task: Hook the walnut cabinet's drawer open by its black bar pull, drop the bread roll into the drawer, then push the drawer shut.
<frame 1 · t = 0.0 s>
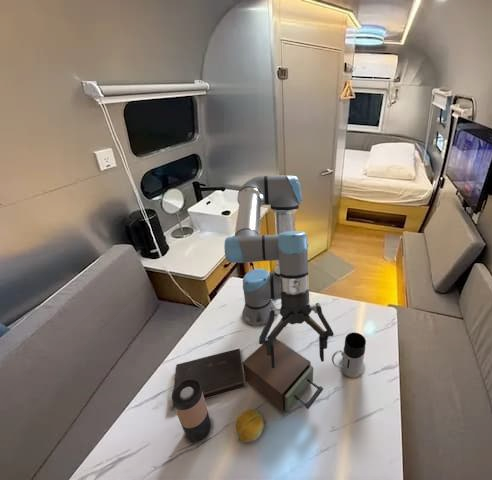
hand: (297, 361, 76), 28 cm above the table, tool tilted 20°, fingers open, 13 cm apart
cabinet: (277, 380, 101), on the table
bread roll: (249, 427, 87), on the table
hardcover book: (210, 378, 101), on the table
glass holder: (346, 370, 106), on the table
drawer: (288, 379, 96), point 5 cm above the table, slide at 0.5 cm
travel mug: (199, 430, 86), on the table
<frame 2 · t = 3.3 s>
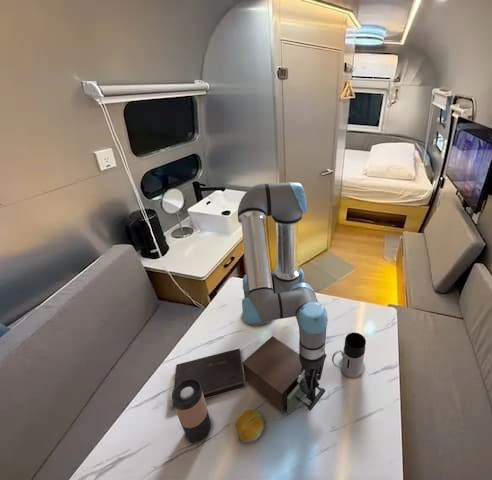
hand: (310, 398, 91), 5 cm above the table, tool pointing down, fingers closed
drawer: (290, 381, 95), point 5 cm above the table, slide at 1.4 cm
everything else where it was.
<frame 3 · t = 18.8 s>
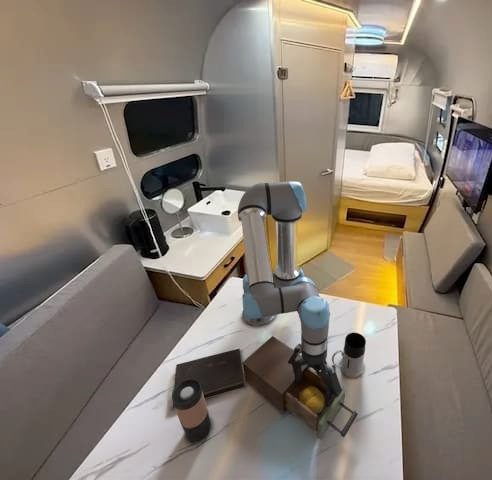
hand: (313, 390, 89), 9 cm above the table, tool pointing down, fingers open, 12 cm apart
bread roll: (311, 402, 92), point 2 cm above the table, touching drawer
drawer: (319, 403, 89), point 5 cm above the table, slide at 13.9 cm, touching bread roll
everything else where it was.
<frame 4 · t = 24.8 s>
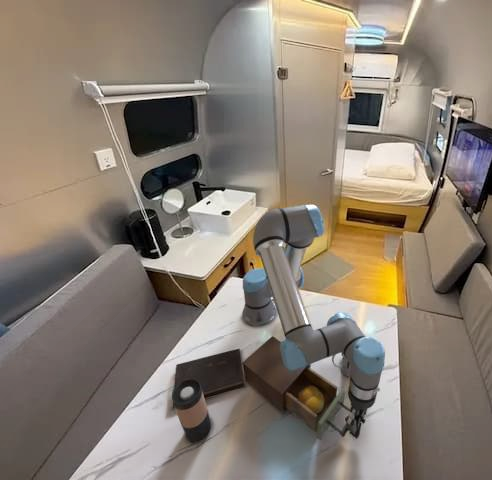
hand: (354, 434, 84), 3 cm above the table, tool pointing down, fingers closed
drawer: (319, 402, 89), point 5 cm above the table, slide at 13.7 cm, touching bread roll, gripper
everything else where it was.
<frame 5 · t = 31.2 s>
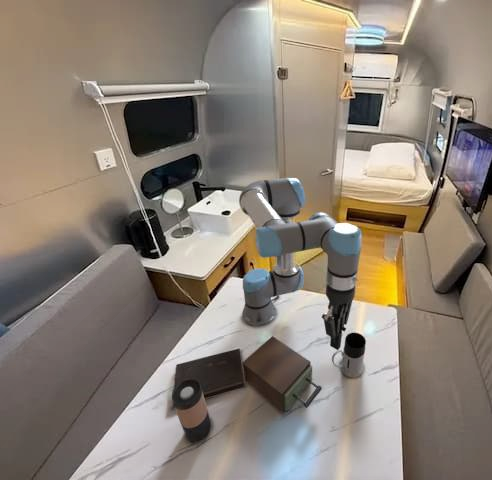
hand: (335, 346, 81), 28 cm above the table, tool pointing down, fingers closed
bread roll: (281, 379, 99), point 2 cm above the table, touching drawer
drawer: (287, 379, 96), point 5 cm above the table, slide at 0.0 cm, touching bread roll
everything else where it was.
at the end: drawer pulled out 14.0 cm at the most during the clip, back to where it started at the end; bread roll inside the target area in the cabinet (1.6 cm from its centre), point 1.9 cm above the cabinet's base; drawer slide at 0.0 cm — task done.
